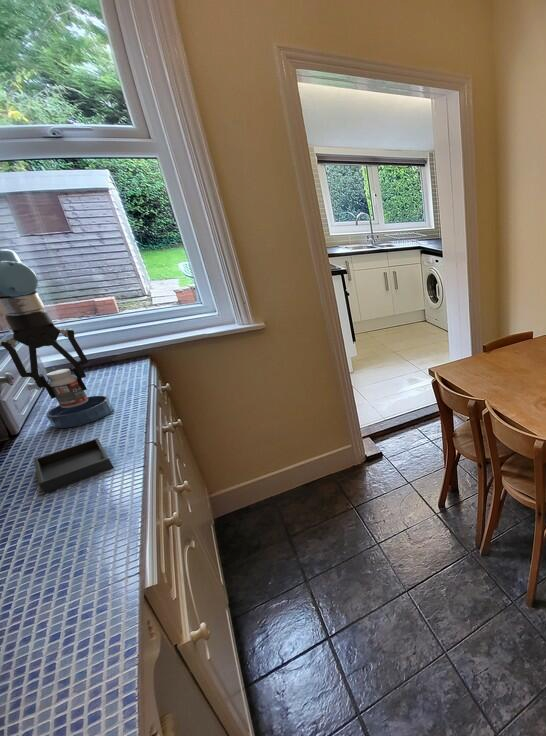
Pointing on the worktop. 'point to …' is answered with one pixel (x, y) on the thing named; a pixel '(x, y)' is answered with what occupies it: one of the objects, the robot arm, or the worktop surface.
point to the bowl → (80, 413)
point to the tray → (71, 465)
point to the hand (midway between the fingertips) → (69, 392)
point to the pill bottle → (66, 388)
